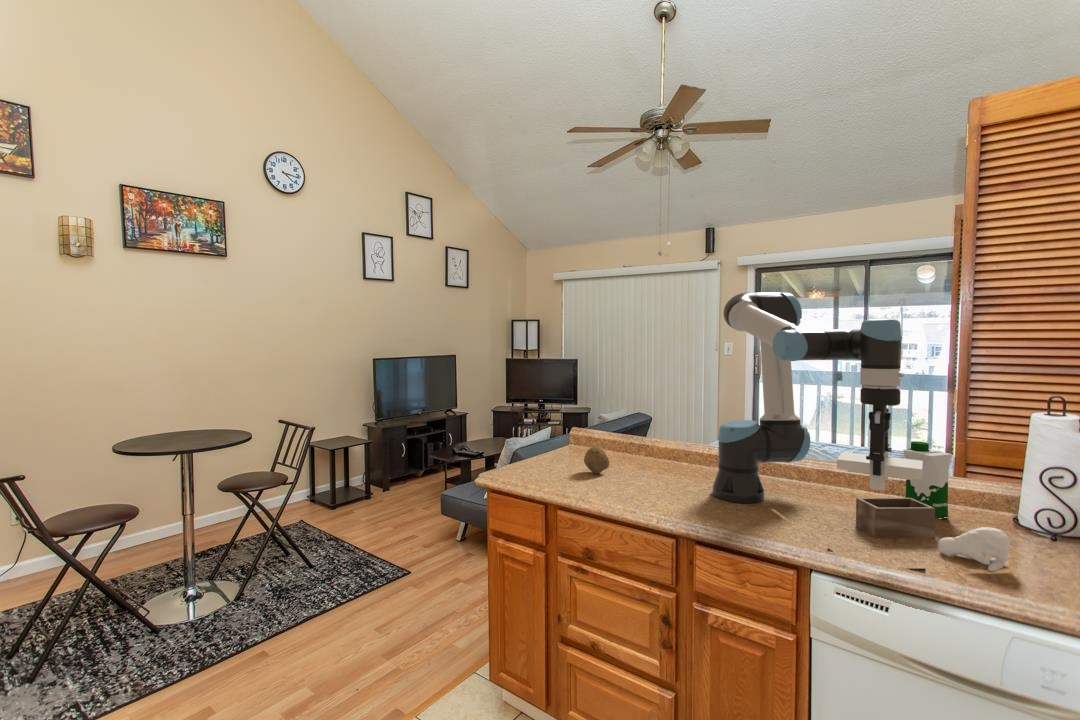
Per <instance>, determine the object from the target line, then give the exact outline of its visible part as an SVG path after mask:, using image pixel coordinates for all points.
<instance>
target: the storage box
mask: <svg viewBox="0 0 1080 720" xmlns="http://www.w3.org/2000/svg"><path fill="white" fill-rule="evenodd" d="M855 500H856V501H855V503H856V505H855V508H856V509H855V510H856V511H855V526H856V527H858V528H859V529H861V530H863V531H864V532H866V533H867V534H869V535H871V536H873V537H874V538H876V539H912V538H913V539H919V538H920V539H923V538H924V539H925V538H926V539H927V538H928V539H932V538H934V539H935V536H936V535H935V529H936V528H935V527H936V525H935V524H936V518H935V508H933V507H931V506H929V505H926V504H924V503H922V502H919V501H917V500H915V499H912V498H905V497H856V499H855Z"/></svg>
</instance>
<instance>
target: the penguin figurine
mask: <svg viewBox="0 0 1080 720" xmlns="http://www.w3.org/2000/svg"><path fill="white" fill-rule="evenodd" d="M937 545H938V549H939V551H940V552H941V553H942V554H943V555H945V556H946V557H949V558H952V557H956V555H960V556H961V555H962V556H965V557H967V558H970V559H973V560H975V561H977V562H979V563H981V564H983V565H988V567H987V572H989V571H991V572H990V573H995V572H997V571H999V570H1001V569H1002V568H1003V567H1004V566H1005V564H1006V562H1007V561H1008V557H1009V552H1010V551H1009V550H1010V547H1011V546H1010V545H1011V542H1010V537H1008V535H1007V533H1005V532H1004V531H1003V530H1002V529H998V528H996V527H988V526H981V527H977V528H975V529H970V530H968V531H967V532H964V533H962V534H960V535H958V536H955V537H942V538H940V539H939V541H938V544H937ZM989 556H991V557H992V558H990V559H988V558H986V557H989Z"/></svg>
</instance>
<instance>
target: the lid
mask: <svg viewBox="0 0 1080 720" xmlns="http://www.w3.org/2000/svg"><path fill="white" fill-rule="evenodd" d="M866 456H869V454H865V453H855V452H848V451H847V452H846V451H842V453H840V455H839V456H838V457H837V458H836V469H837V470H845V471H847V472H849V473H854V474H855V473H856V474H864V475H870V460H866ZM884 458H885V460H884V461H885V477H888V478H894V479H900V480H901V479H902V480H906V479H908V480H911V478H913V479H921V480H922V472H923V461H921V460H912V459H905V458H902V457H892V456H888V457H884Z"/></svg>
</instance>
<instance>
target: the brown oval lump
mask: <svg viewBox="0 0 1080 720" xmlns="http://www.w3.org/2000/svg"><path fill="white" fill-rule="evenodd" d="M583 462H584V464H585V466H586V467H587V468H588V470H590V472H591V473H593V474H595V475H597V474H600V473H602V472H603V471H605V470H607V469H608V468H609V467H610V460H609V457H608V455H607V453H606V451H604V449H602V448H601V447H600V446H592V447H590V448H588V450H587V451H586V452H585V454H584V458H583Z"/></svg>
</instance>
